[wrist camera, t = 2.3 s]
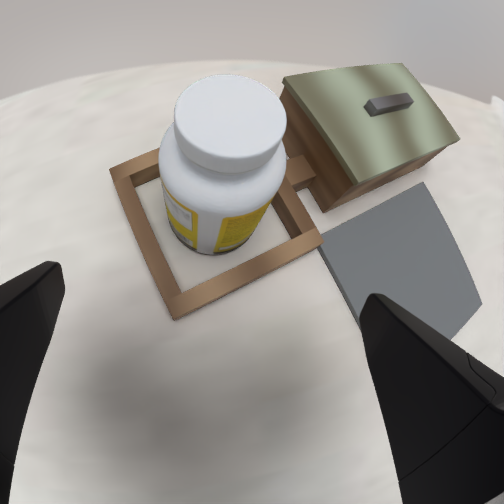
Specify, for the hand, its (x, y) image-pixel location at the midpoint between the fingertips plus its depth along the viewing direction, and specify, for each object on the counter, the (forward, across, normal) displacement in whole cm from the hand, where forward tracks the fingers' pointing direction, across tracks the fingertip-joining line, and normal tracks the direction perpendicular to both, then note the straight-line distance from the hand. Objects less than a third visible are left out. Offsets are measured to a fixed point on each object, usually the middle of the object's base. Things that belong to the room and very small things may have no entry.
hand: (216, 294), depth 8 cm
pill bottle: (+15, 0, +4) cm, 15 cm away
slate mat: (+12, -17, +6) cm, 22 cm away
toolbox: (+18, -7, +1) cm, 19 cm away
